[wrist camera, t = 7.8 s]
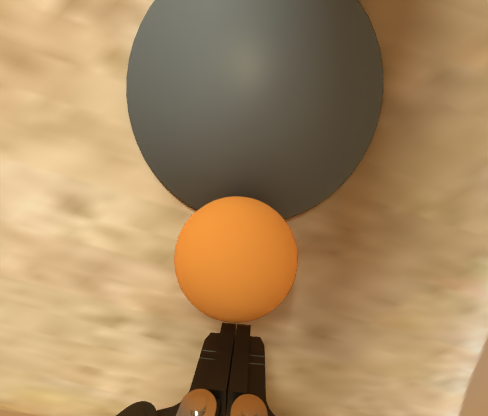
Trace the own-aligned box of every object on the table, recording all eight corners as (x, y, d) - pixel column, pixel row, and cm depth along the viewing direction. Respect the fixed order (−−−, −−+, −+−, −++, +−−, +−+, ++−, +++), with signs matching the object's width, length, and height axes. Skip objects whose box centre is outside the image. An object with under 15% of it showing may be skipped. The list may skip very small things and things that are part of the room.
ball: (235, 318, 14) (242, 226, 17) (326, 329, 10) (318, 206, 13) (139, 314, 11) (165, 197, 13) (220, 331, 7) (238, 155, 9)
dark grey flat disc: (264, -126, 11) (264, -132, 11) (434, 110, 12) (437, 110, 12) (79, 92, 13) (77, 91, 13) (240, 265, 15) (239, 266, 15)
